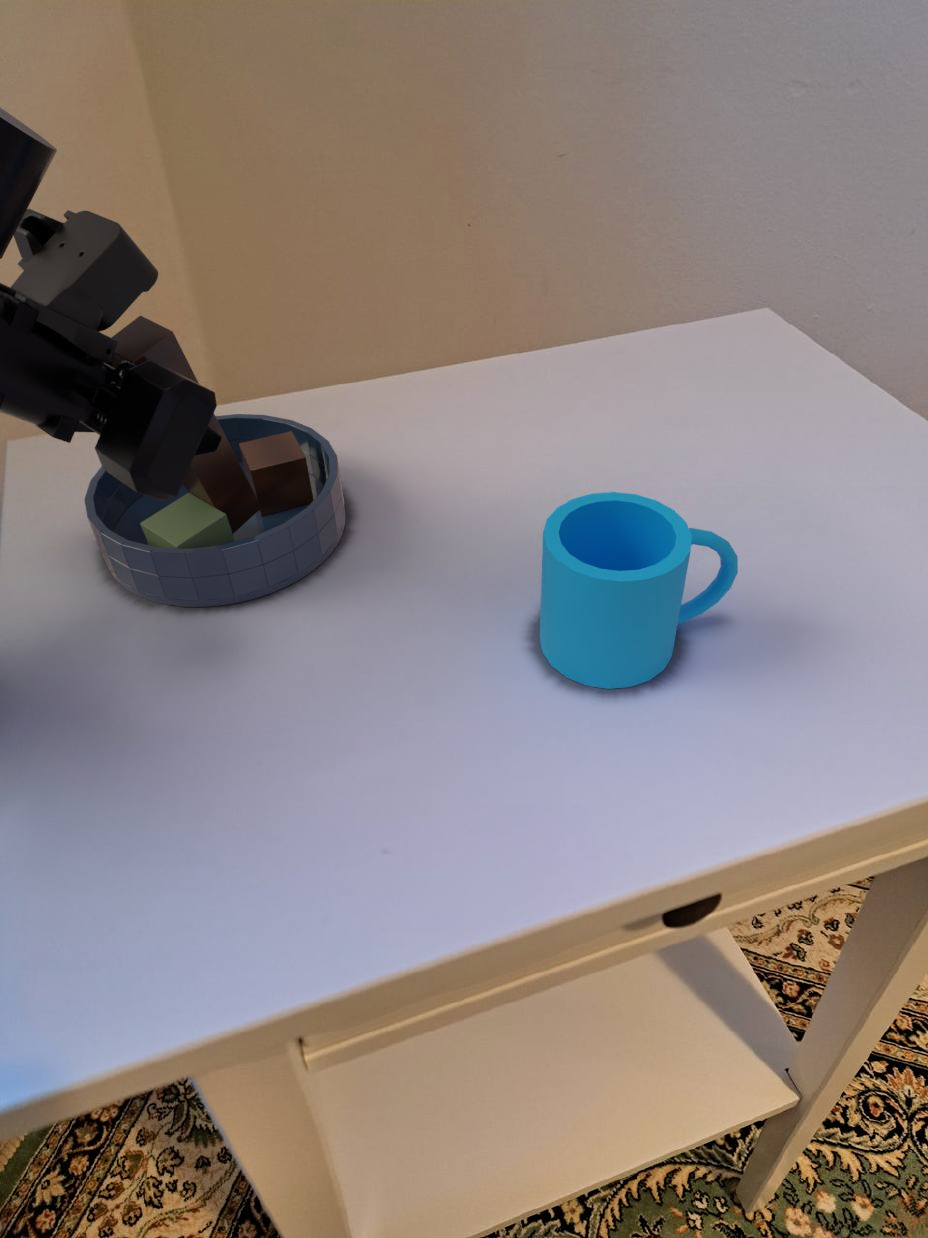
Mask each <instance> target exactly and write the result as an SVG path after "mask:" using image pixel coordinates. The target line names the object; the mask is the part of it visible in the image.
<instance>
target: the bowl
mask: <svg viewBox="0 0 928 1238" xmlns="http://www.w3.org/2000/svg"><path fill="white" fill-rule="evenodd" d="M215 416H216V418H217V420H218V422H219V424H220V426H221V428H222V430H223V432H224V434H225V436H226V438H227V440H228V442H229V444H230V446H231V448H232V450H233V452H234V454H235V456H236V458H237V460H238V462H239V464H240V466H241V468H242V470H243V472H244V474H245V476H246V472H245V468H244V464H243V460H242V456H241V451H240V447H239V443H243V442H247V441H252V440H256V439H260V438H264V437H269V436H273V435H277V434H281V433H286V432H290V431H292V432H293V434H294V436H295V438H296V440H297V442H298V444H299V445H300V447H301V449H302V451H303V453H304V455H305V457H306V461H307V466H308V472H309V477H310V483H311V488H312V494H313V501H312V503H311V504H308V505H304V506H300V507H296V508H293V509H289V510H285V511H281V512H277V513H273V514H269V515H265V516H261V515H260V512H259V511H258V512H257V513H255V514H254V515H253V516H252V517H251V518H250V519H249V520H248V521H247V522H246V523H245V524H244V525H242V526H241V527H240V528H239V529H238V530H237V531H236V532H235V533H234V534H233V537H234V540H235V542H231V543H227V544H223V545H218V546H208V547H199V548H190V549H182V548H163V547H153V546H149V544H148V541H147V539H146V536H145V534H144V532H143V529H142V527H141V525H140V523H141V522H143V521H144V520H146V519H147V518H149V517H151V516H152V515H154V514H155V513H157V512H159V511H160V510H162V509H163V508H165V507H167V506H168V505H170V504H171V503H173V502H175V501H176V500H178V499H179V498H181V497H183V496H184V495H186V494H187V493H188V491H187V490H186V488H185V486H184V485H183V483H182V486H181V488H180V490H179V492H178V495H177V496H176V497H174V498H172V499H171V500H169V501H167V502H166V501H163V500H160V499H156V498H153V497H150V496H146V495H143V494H140V493H137V492H136V491H134V490H133V489H131V488H130V487H128V486H127V485H125V484H124V483H123V482H121V481H120V480H118V479H117V478H115V477H114V476H112V475H111V474H110V473H108V472H107V471H105V470H104V469H103V468H102V465H101V466H100V468H99V469H98V470H97V471H96V473H95V474H94V475H93V476H92V477H91V478H90V481H89V484H88V487H87V489H86V493H85V496H84V506H85V507H84V508H85V511H86V517H87V520H88V523H89V525H90V528H91V531H92V532H93V536H94V537H95V540H96V543H97V545H98V548H99V550H100V553H101V556H102V558H103V561H104V563H105V564H106V565H107V568H108V570H109V571H110V573H111V575H112V577H113V578H114V580H116V581H117V582H118V583H119V584H120V585H121V586H122V587H124V588H125V589H126V590H127V591H129V592H131V593H133V594H135V595H136V596H139V597H141V598H143V599H145V600H148V601H152V602H154V603H159V604H163V605H169V606H175V607H184V608H207V607H221V606H226V605H233V604H240V603H242V602H243V603H244V602H247V601H251V600H255V599H258V598H262V597H264V596H267V595H270V594H273V593H275V592H277V591H280V590H282V589H285V588H287V587H288V586H290V585H292V584H294V583H296V582H298V581H300V580H301V579H303V578H304V577H307V575H309V574H310V573H312V572H313V571H314V570H315V569H317V568H318V567H319V566H321V565H322V564H323V563H324V562H325V560H326V559H327V558H328V557H329V556H330V555H331V554H332V553H333V551H334V550H335V549H336V548H337V546H338V544H339V543H340V540H341V539H342V536H343V534H344V530H345V526H346V517H347V516H346V510H345V498H344V492H343V491H344V490H343V486H342V479H341V472H340V465H339V459H338V455H337V453H336V451H335V450H334V448H333V446H332V444H331V443H330V441H329V440H328V439H327V438H325V437H324V436H323V435H321V434H320V433H319V432H318V431H316V430H315V429H313V428H312V427H310V426H307V425H305V424H302V423H300V422H298V421H295V420H293V419H288V418H284V417H277V416H272V415H267V414H251V413H235V414H234V413H233V414H222V415H215ZM246 478H247V477H246Z"/></svg>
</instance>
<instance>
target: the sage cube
mask: <svg viewBox="0 0 928 1238" xmlns="http://www.w3.org/2000/svg"><path fill="white" fill-rule="evenodd" d="M140 525H141V527H142V529H143V532H144V534H145V536H146V539H147V541H148V544H149V546H153V547H163V548H182V549H190V548H199V547H208V546H218V545H223V544H227V543H231V542H235V540H234V537H233V534H232V531H231V528H230V525H229V522H228V518H227V515H226V514H225V513H223V512H221V511H220V510H218V509H216V508H215V507H213V506H211V505H209V504H208V503H206V502H204V501H203V500H201V499H199V498H197V497H196V496H194V495H192V494H190V493H187V494H186V495H184V496H183V497H181V498H179V499H178V500H176V501H175V502H173V503H171V504H170V505H168V506H167V507H165V508H163V509H162V510H160V511H159V512H157V513H155V514H154V515H152V516H151V517H149V518H147V519H146V520H144V521H143V522H141V523H140Z"/></svg>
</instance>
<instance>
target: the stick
mask: <svg viewBox="0 0 928 1238" xmlns="http://www.w3.org/2000/svg"><path fill="white" fill-rule="evenodd" d="M110 337H111V338H113V339H114V340H116V341H118V344H117V346H116V349H115V351H114V353H113V356H112V358H111V361H110V362H111V364H112V365H113V367H114V368H116V367H117V366H118V365H119V363H121V362H122V361H128V362H130V363H133V364H134V365H136V366H137V365H139V364H142V363H144V362H146V361H148V360H153V361H155V362H156V363H158V364H160V365H162V366H165V367H167V368H169V369H171V370H173V371H175V372H177V373H179V374H181V375H183V376H185V377H187V378H189V379H191V380H193V381H194V382H196V383H198V384H200V383H199V380H198V379H197V377H196V375H195V373H194V371H193V369H192V367H191V365H190V363H189V361H188V359H187V357H186V355H185V353H184V351H183V349H182V347H181V345H180V343H179V341H178V339H177V337H176V335H175V333H174V331H173V330H171V329H169V328H167V327H165V326H163V325H161V324H160V323H157V322H156V321H153V320H151V319H149V318H146V317H145V316H143V315H138V317H136V318H135V319H133V320H132V321H131V322H130V323H128V324H127V325H126V326H124V327H123V328H121V329H120V330H119V331H118V332H117V333H115V334H113V335H112V336H110ZM216 416H217V415H216V414H215V412H214V413H213V416H212V418H211V420H210V422H209V425H208V426H209V427H211V428H212V429H213V430H215V431H216V432H217V433H219V434H220V435H221V437H222V438H221V441H220V443H219V446H218V448H217V450H216V451H215V452H211V453H206V454H200V455H195V456H194V459H193V461H192V463H191V465H190V468H189V470H188V472H187V474H186V477H185V479H184V481H183V485H184V486H185V488H186V490H187V491H188V493H190V494H192V495H194V496H196V497H197V498H199V499H201V500H203V501H204V502H206V503H208V504H209V505H211V506H213V507H215V508H216V509H218V510H220V511H221V512H223V513H225V514H226V515H227V518H228V522H229V525H230V528H231V531H232V534H234V533H235V532H236V531H237V530H238V529H239V528H240V527H241V526H242V525H244V524H245V523H246V522H247V521H248V520H249V519H250V518H251V517H252V516H253V515H254V514H255V513H257V512H258V511H259V510H260V509H261V506H260V504H259V502H258V500H257V498H256V496H255V494H254V492H253V490H252V488H251V486H250V484H249V482H248V480H247V478H246V476H245V474H244V472H243V470H242V468H241V466H240V464H239V462H238V460H237V458H236V456H235V454H234V452H233V450H232V448H231V446H230V444H229V442H228V440H227V438H226V436H225V434H224V432H223V430H222V428H221V426H220V424H219V422H218V420H217V418H216Z"/></svg>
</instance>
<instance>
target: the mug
mask: <svg viewBox="0 0 928 1238" xmlns="http://www.w3.org/2000/svg"><path fill="white" fill-rule="evenodd" d="M692 545H694V546H696V545H697V546H701V547H706V548H709V549H711V550H712V551H715V552H716V554H717V555H718V556H719V558H720V567H719V569H718V572H717V574H716V576H715V578H714V579H713V580H712V581H711V583H710V584H709V585H708V586H707V587H706V588H705V589H704V590H703V591H701V592H700V593H699V594H697V595H696V596H695V597H693V598H692V599H691V600H688V601H687V602H686V601H685V602H684V603H682V600H683V597H684V590H685V585H686V579H687V573H688V568H689V564H690V563H689V562H690V557H691V552H692ZM738 559H739V558H738V555H737V552H736V551H735V549H734V548H733V546H732V545H731V543H730V542H729V541H728V540H727V539H726V538H724V537H722V536H720V535H718V534H717V533H715V532H713V531H711V530H704V529H700V528H694V527H689V525H688V523H687V521H686V520H684V519H683V517H682V516H681V515H680V514H679V513H678V512H677V511H676V510H675V509H673V508H671V507H670V506H668V505H665V504H664V503H662V502H660V501H658V500H656V499H653V498H649V497H647V496H643V495H640V494H636V493H627V492H617V491H609V492H608V491H606V492H596V493H595V492H594V493H589V494H585V495H582V496H578V497H574V498H571V499H570V500H568V501H567V502H564V503H562V504H561V505H559V506H557V507H556V508H555V509H554V510H553V512H552V513H551V514H550V515H549V516H548V517H547V518H546V521H545V524H544V527H543V531H542V550H541V578H540V580H541V583H540V607H539V608H540V609H539V610H540V611H539V612H540V613H539V644H540V647H541V652H542V654H543V656H544V657H545V659H546V660H547V662H548V663H549V665H550V666H551V667H552V668H553V669H555V670H556V671H557V672H559V673H560V674H561V675H563V676H564V677H565V678H567V679H570V680H572V681H574V682H577V683H579V684H581V685H584V686H586V687H592V688H601V689H607V690H612V689H624V688H633V687H634V686H638V685H641V684H644V683H647V682H649V681H651V680H652V679H654V678H655V677H656V676H658V675H659V674H660V673H662V672H664V670H665V669H666V667H667V665H668V664H669V663H670V661H671V659H672V657H673V652H674V646H675V641H676V635H677V630H678V625H681V624H684V623H686V622H688V621H690V620H692V619H694V618H696V617H699V616H700V615H703V614H704V613H705V612H707V611H708V610H709V609H711V608H712V607H713V606H715V605H716V604H717V603H719V602H720V601H721V600H722V599H723V597H724V596H725V595H726V594H727V593H728V592H729V591H730V590H731V589H732V586H733V584H734V582H735V580H736V578H737V575H738V572H739V567H738V566H739V561H738Z"/></svg>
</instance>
